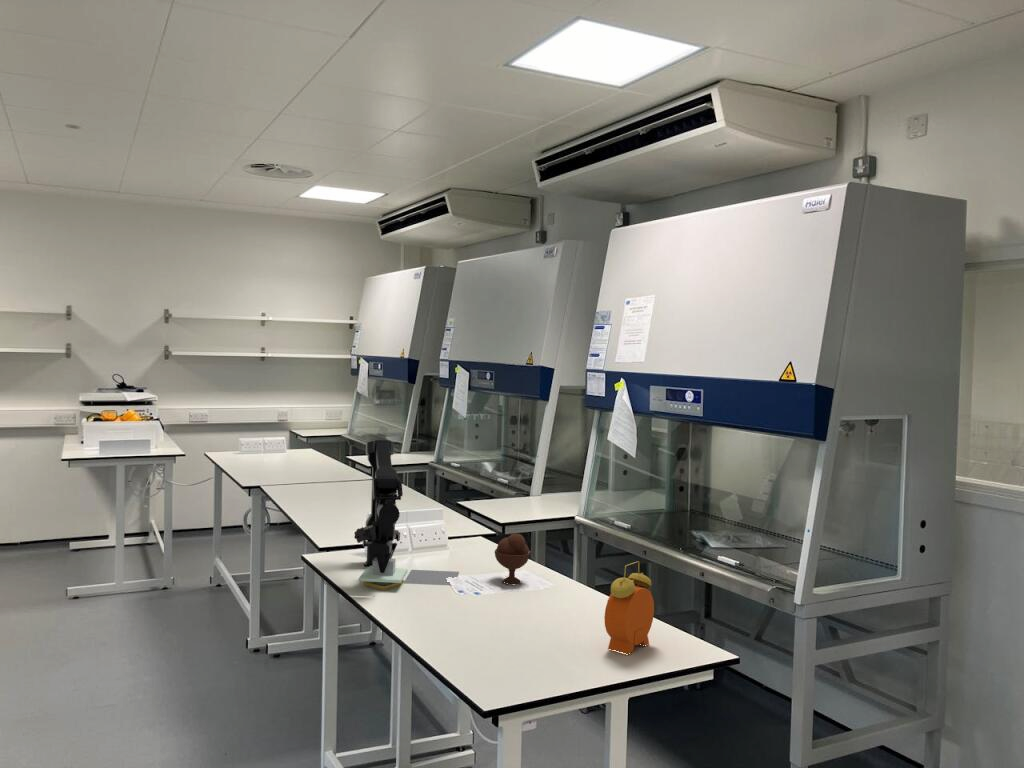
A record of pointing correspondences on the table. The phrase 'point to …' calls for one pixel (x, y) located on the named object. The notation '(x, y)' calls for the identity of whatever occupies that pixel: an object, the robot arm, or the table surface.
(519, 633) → the table surface
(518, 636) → the table surface
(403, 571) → the cover
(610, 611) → the alarm clock
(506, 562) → the ice cream bowl
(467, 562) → the table surface
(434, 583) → the mat
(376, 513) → the robot arm
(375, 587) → the saucer
